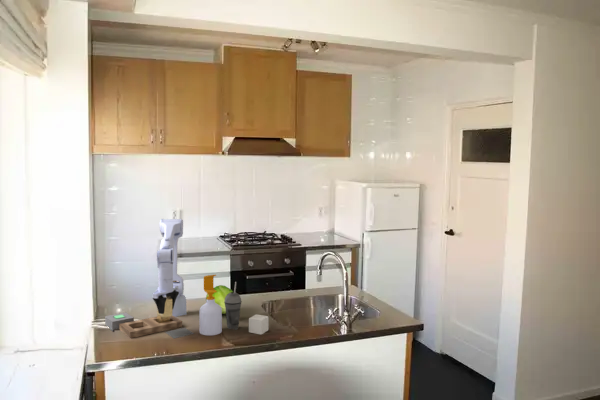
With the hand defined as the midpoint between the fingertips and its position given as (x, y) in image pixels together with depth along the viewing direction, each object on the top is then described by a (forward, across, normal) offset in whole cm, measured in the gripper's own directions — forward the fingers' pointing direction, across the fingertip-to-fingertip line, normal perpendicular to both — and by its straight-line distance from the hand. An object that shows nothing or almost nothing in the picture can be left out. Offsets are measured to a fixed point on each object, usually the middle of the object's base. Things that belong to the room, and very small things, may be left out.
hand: (166, 311), depth 208 cm
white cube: (+10, -18, +33) cm, 39 cm away
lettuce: (+10, -31, +8) cm, 33 cm away
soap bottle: (+10, -8, +16) cm, 20 cm away
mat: (+9, -2, +5) cm, 11 cm away
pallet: (+9, -1, -9) cm, 13 cm away
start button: (+8, +1, -24) cm, 25 cm away
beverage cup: (+10, -16, +22) cm, 29 cm away
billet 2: (+9, -6, -6) cm, 13 cm away
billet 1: (+2, 0, 0) cm, 2 cm away
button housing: (+9, +1, -24) cm, 25 cm away
